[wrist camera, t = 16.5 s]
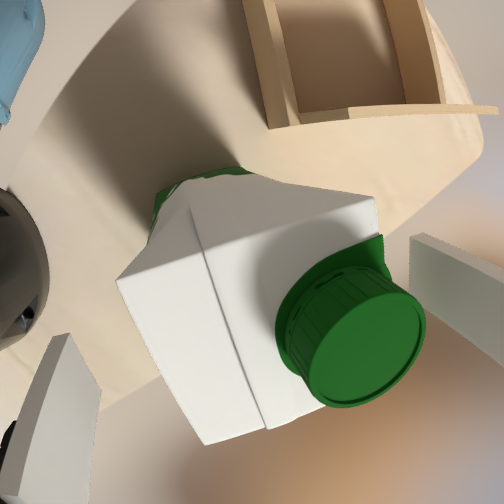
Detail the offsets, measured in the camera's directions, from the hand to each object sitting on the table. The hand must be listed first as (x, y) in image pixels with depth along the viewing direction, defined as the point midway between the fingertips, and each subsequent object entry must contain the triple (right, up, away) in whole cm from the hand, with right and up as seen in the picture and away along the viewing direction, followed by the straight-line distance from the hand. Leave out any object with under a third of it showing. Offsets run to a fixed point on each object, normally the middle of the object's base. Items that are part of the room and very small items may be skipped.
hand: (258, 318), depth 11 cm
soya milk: (-4, +5, +15) cm, 17 cm away
